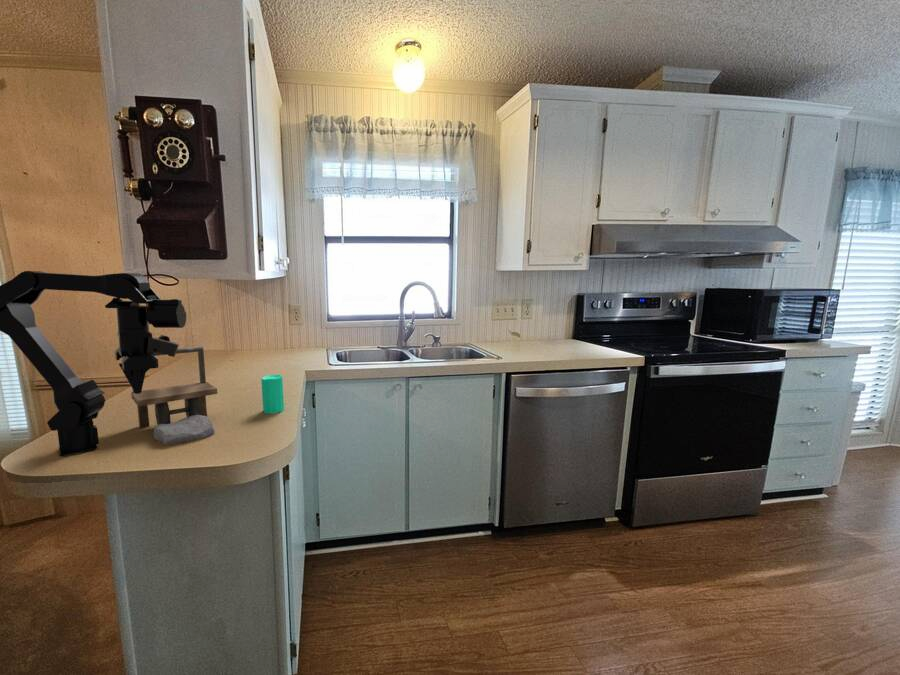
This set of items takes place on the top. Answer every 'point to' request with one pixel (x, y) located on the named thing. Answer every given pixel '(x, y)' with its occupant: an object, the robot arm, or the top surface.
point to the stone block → (184, 430)
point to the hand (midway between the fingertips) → (138, 393)
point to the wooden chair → (175, 395)
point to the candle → (272, 393)
